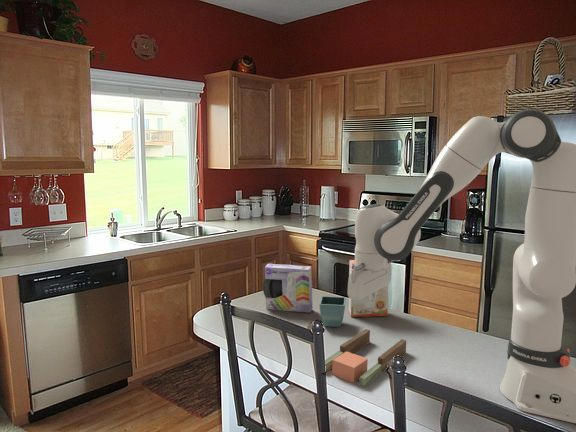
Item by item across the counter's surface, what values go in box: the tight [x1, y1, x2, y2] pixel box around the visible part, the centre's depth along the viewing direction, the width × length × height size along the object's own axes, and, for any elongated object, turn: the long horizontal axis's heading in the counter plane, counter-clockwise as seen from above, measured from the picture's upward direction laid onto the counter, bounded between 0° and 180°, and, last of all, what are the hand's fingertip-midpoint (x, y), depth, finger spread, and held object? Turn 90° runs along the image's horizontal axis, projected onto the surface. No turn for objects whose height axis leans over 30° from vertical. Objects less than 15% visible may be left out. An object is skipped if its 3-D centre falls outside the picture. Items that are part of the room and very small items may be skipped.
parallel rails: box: [324, 328, 407, 389], centre depth 132 cm, size 14×26×4 cm, turn 142°
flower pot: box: [319, 295, 347, 328], centre depth 160 cm, size 9×9×9 cm
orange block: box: [331, 351, 369, 383], centre depth 125 cm, size 7×7×4 cm
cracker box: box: [348, 259, 389, 318], centre depth 169 cm, size 14×6×21 cm, turn 92°
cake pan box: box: [262, 263, 314, 313], centre depth 174 cm, size 19×5×18 cm, turn 73°
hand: (369, 306), depth 131 cm, fingers closed
